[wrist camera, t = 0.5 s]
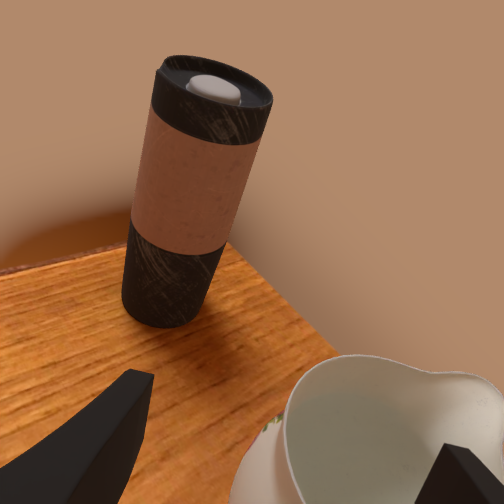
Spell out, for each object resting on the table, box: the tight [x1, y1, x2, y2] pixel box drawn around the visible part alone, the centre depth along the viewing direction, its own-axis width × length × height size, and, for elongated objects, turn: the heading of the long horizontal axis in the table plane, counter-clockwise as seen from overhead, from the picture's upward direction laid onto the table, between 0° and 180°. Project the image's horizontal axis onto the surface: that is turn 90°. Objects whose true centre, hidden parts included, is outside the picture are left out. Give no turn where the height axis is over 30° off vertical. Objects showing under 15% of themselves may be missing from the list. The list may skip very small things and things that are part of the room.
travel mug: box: [122, 55, 273, 328], centre depth 34 cm, size 8×8×20 cm
